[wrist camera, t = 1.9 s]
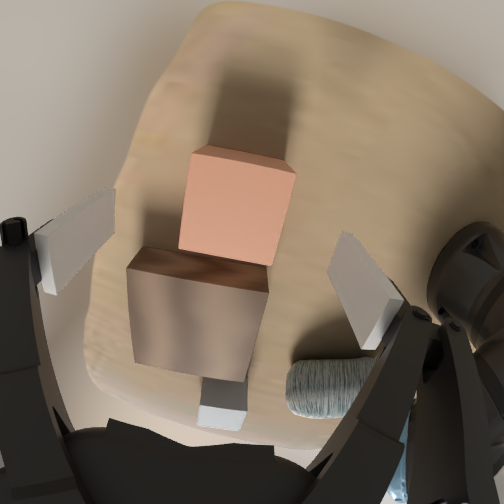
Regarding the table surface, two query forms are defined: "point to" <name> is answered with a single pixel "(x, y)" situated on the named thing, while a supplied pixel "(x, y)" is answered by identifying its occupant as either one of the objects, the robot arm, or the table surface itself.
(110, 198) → the robot arm
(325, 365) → the yarn skein
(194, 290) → the walnut block
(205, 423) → the grey cube
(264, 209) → the terracotta cube
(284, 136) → the table surface
